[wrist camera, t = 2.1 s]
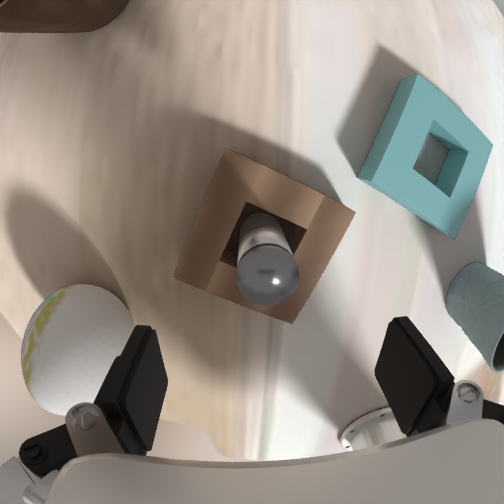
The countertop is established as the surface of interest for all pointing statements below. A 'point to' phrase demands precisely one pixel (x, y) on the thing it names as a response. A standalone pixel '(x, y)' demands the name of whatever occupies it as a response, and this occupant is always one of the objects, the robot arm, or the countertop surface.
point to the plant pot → (57, 15)
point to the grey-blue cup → (480, 310)
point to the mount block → (270, 199)
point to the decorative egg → (73, 345)
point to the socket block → (409, 146)
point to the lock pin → (265, 261)
